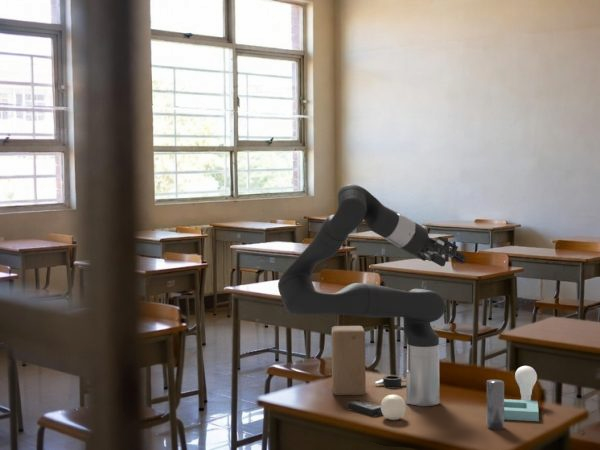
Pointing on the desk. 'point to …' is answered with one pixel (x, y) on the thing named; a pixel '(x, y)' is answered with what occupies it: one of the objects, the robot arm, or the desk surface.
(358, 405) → the multiport hub
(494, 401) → the brushed steel cylinder
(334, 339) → the wooden block
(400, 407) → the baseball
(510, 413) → the frame
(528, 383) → the lightbulb
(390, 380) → the black ring with tabs
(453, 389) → the desk surface
